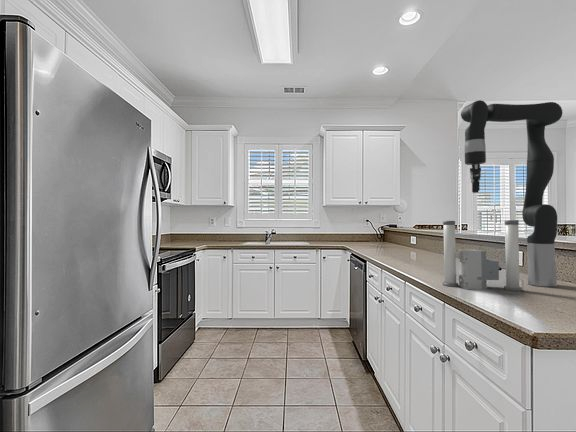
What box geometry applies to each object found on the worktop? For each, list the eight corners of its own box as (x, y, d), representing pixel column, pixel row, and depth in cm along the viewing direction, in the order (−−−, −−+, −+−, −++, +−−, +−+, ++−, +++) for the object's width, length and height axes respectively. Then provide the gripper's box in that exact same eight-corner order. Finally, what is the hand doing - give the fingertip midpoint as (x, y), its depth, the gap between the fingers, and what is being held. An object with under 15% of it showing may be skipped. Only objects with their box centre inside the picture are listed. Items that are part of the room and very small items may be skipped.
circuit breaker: (503, 289, 135) (503, 251, 135) (464, 288, 138) (463, 251, 138) (496, 286, 143) (495, 249, 143) (458, 285, 145) (458, 249, 146)
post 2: (521, 289, 137) (519, 220, 137) (523, 291, 131) (521, 220, 132) (503, 287, 139) (501, 220, 140) (504, 290, 134) (503, 220, 134)
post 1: (458, 284, 147) (457, 220, 147) (458, 287, 141) (456, 220, 142) (443, 283, 150) (441, 220, 150) (442, 286, 144) (440, 221, 144)
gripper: (487, 147, 133) (487, 190, 133) (484, 154, 146) (485, 192, 146) (465, 149, 136) (465, 191, 136) (464, 155, 149) (465, 193, 149)
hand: (475, 191), depth 141 cm, fingers open, 8 cm apart
